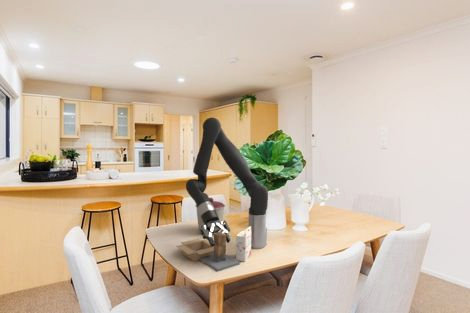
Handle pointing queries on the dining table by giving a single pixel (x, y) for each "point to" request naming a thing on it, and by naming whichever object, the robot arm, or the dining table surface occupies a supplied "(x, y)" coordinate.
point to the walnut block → (219, 247)
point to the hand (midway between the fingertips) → (221, 243)
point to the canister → (218, 208)
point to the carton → (192, 245)
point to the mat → (219, 265)
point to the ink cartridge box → (243, 245)
